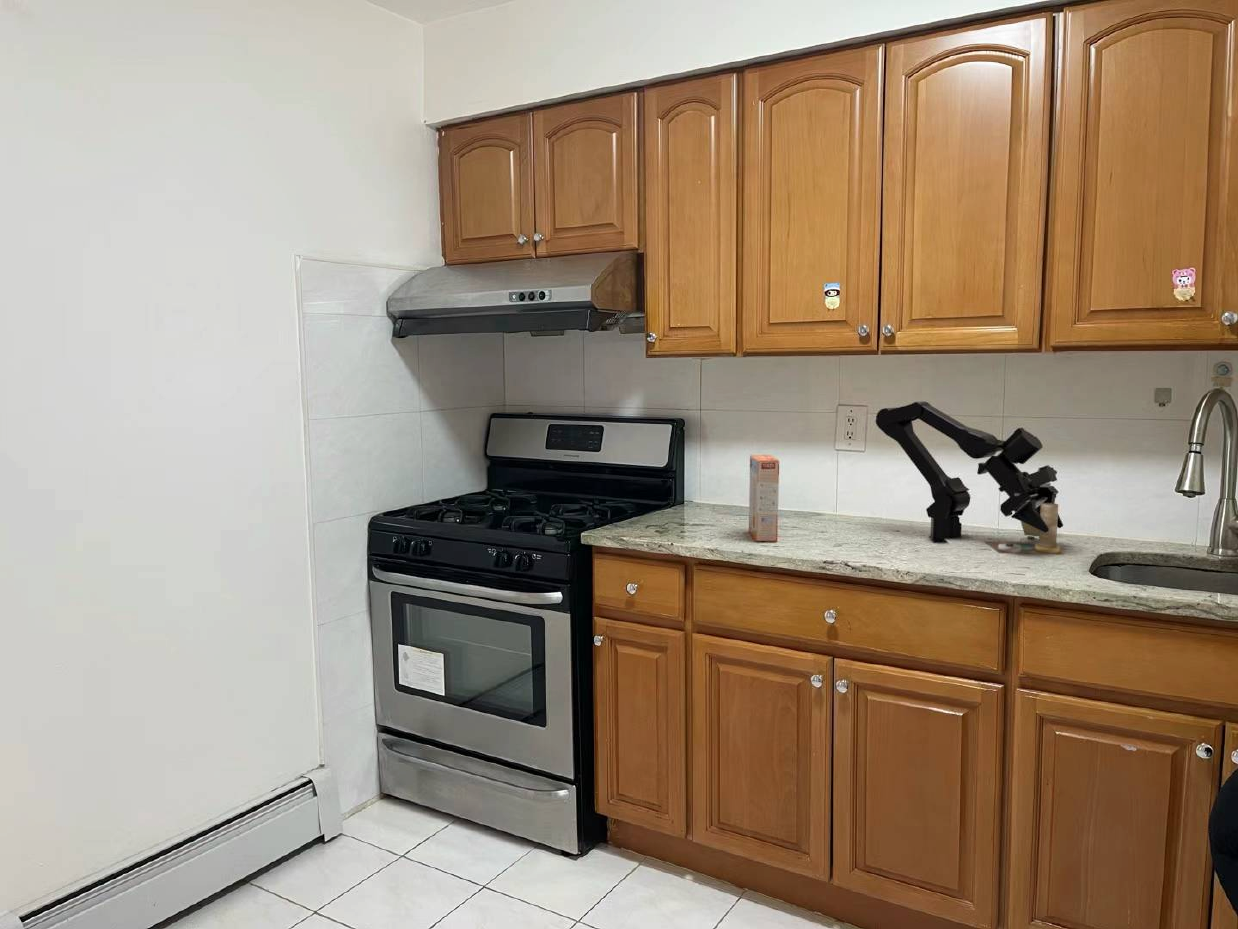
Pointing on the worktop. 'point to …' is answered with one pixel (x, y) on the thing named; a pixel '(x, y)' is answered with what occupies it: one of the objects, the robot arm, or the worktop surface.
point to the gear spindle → (1049, 538)
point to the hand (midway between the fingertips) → (1054, 529)
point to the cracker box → (763, 498)
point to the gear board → (1017, 546)
